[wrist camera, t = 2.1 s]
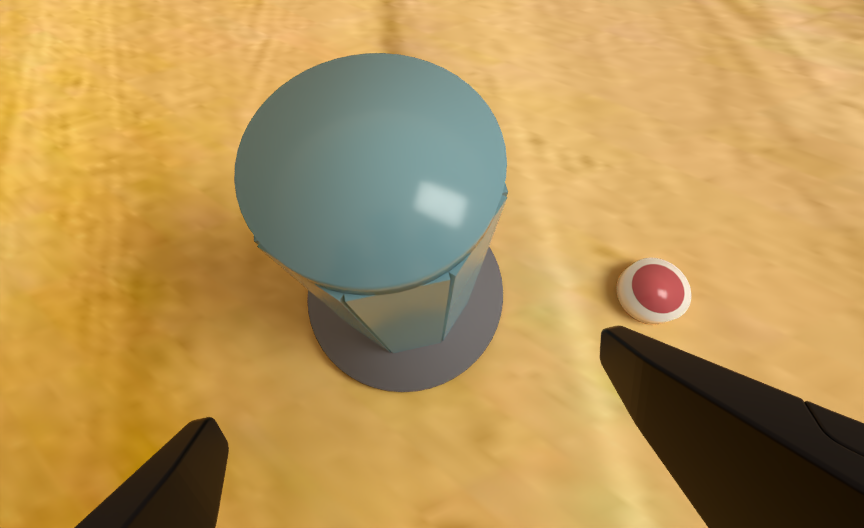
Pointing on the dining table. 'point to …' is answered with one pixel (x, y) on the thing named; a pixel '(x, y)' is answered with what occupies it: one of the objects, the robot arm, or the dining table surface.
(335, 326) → the disc
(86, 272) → the dining table surface
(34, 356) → the dining table surface
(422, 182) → the blue-grey tall faceted cylinder
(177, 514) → the robot arm
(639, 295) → the dip bowl
